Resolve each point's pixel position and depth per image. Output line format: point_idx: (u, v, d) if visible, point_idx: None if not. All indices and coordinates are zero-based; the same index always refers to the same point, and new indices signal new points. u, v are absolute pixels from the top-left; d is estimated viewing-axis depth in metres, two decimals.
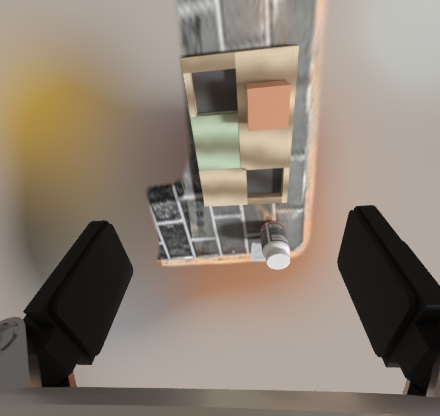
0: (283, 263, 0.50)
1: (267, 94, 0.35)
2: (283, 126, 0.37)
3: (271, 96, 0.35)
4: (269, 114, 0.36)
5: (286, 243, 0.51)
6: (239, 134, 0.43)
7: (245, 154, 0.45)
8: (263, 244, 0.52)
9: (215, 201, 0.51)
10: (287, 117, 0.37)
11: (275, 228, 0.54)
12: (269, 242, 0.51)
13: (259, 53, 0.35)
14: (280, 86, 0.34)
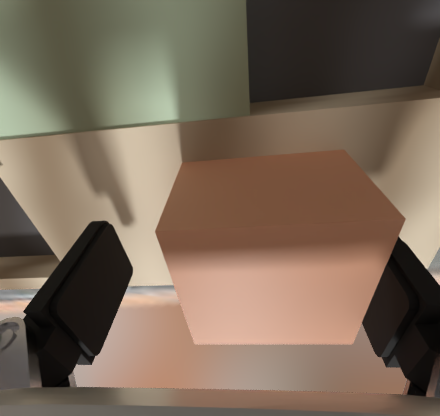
0: None
1: (339, 293, 0.07)
2: (199, 335, 0.09)
3: (326, 304, 0.08)
4: (249, 301, 0.08)
5: None
6: (149, 127, 0.09)
7: (63, 159, 0.10)
8: None
9: None
10: (234, 342, 0.10)
11: None
12: None
13: None
14: (357, 322, 0.08)
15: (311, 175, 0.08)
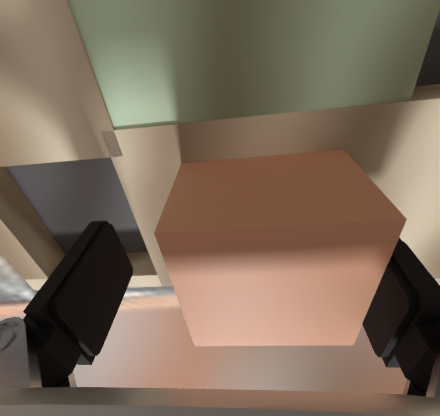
0: None
1: (340, 294, 0.07)
2: (199, 337, 0.09)
3: (327, 304, 0.08)
4: (250, 302, 0.08)
5: None
6: (296, 114, 0.08)
7: (191, 149, 0.09)
8: None
9: None
10: (234, 344, 0.09)
11: None
12: None
13: None
14: (357, 323, 0.08)
15: (311, 175, 0.08)
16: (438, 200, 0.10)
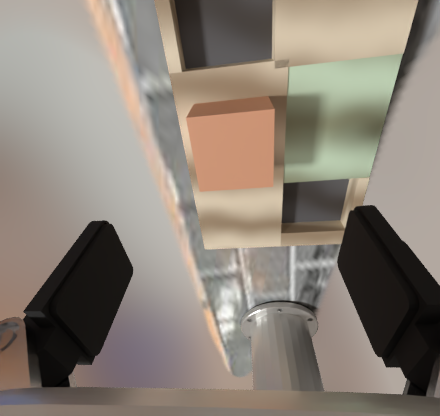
0: None
1: (237, 178, 0.19)
2: (196, 121, 0.17)
3: (230, 175, 0.19)
4: (230, 146, 0.18)
5: None
6: (283, 148, 0.22)
7: (274, 105, 0.20)
8: None
9: None
10: (192, 140, 0.18)
11: None
12: None
13: (250, 244, 0.29)
14: (216, 189, 0.20)
15: None
16: (243, 205, 0.26)
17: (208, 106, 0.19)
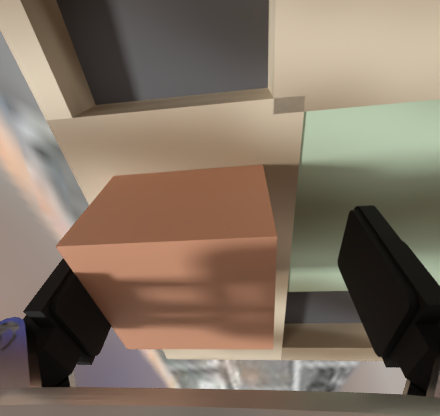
0: None
1: (198, 336, 0.09)
2: (83, 253, 0.07)
3: (183, 332, 0.09)
4: (174, 294, 0.08)
5: None
6: (289, 247, 0.12)
7: (272, 182, 0.10)
8: None
9: None
10: (86, 283, 0.08)
11: None
12: None
13: (234, 356, 0.19)
14: None
15: None
16: None
17: (133, 192, 0.09)
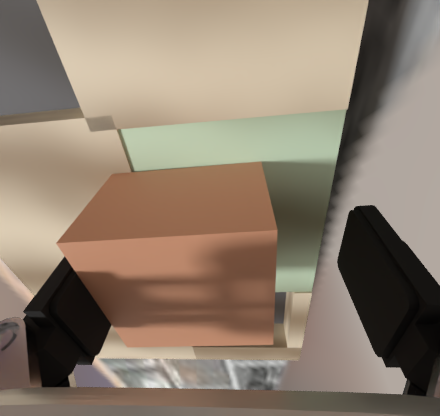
0: None
1: (198, 333, 0.09)
2: (84, 250, 0.07)
3: (183, 330, 0.09)
4: (175, 290, 0.08)
5: None
6: None
7: None
8: None
9: None
10: (86, 280, 0.08)
11: None
12: None
13: (152, 356, 0.20)
14: (159, 343, 0.10)
15: None
16: None
17: (132, 189, 0.09)
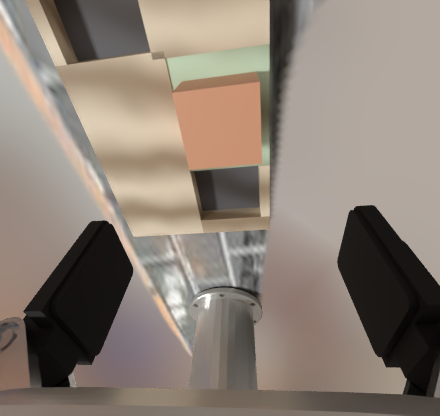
0: None
1: (225, 155, 0.20)
2: (182, 96, 0.17)
3: (218, 152, 0.19)
4: (217, 121, 0.18)
5: None
6: None
7: (162, 96, 0.21)
8: None
9: None
10: (179, 116, 0.18)
11: None
12: None
13: (174, 231, 0.30)
14: (205, 166, 0.20)
15: None
16: (158, 193, 0.27)
17: (195, 82, 0.19)
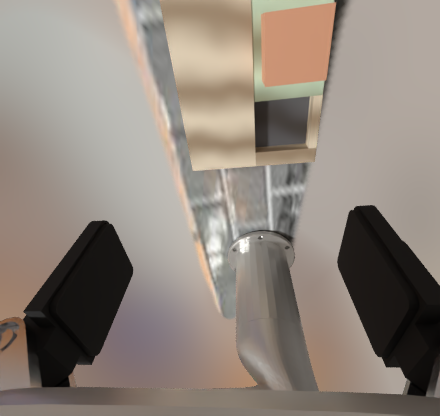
0: None
1: (297, 72, 0.24)
2: (273, 15, 0.22)
3: (292, 69, 0.24)
4: (296, 39, 0.23)
5: None
6: (252, 68, 0.28)
7: (242, 28, 0.26)
8: None
9: None
10: (267, 34, 0.23)
11: None
12: None
13: (230, 165, 0.35)
14: (279, 84, 0.25)
15: None
16: (222, 124, 0.31)
17: None
